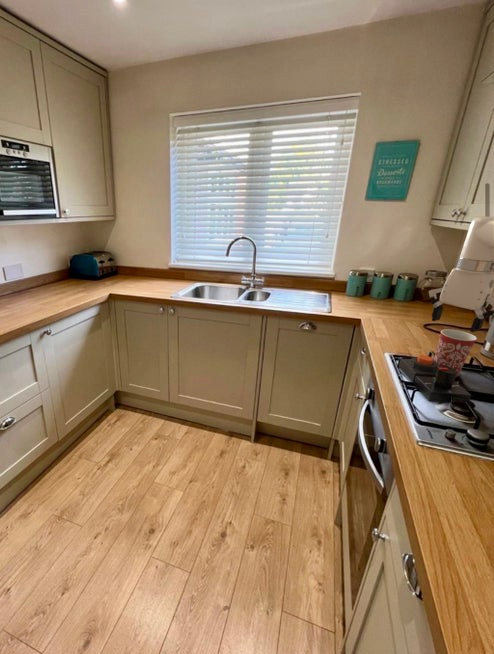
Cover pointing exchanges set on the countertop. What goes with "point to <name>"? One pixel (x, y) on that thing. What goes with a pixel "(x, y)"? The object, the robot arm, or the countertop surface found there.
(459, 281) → the robot arm
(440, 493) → the countertop surface
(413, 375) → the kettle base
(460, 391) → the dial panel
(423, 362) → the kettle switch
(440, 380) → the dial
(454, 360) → the mug
